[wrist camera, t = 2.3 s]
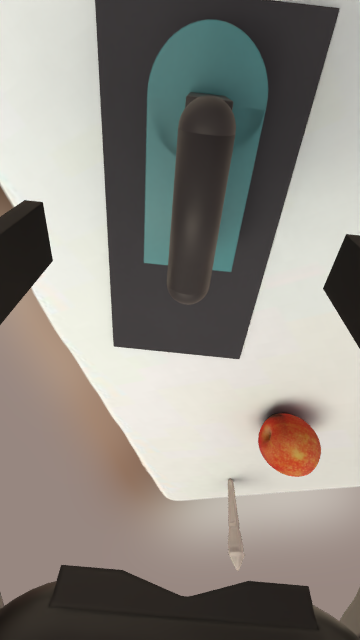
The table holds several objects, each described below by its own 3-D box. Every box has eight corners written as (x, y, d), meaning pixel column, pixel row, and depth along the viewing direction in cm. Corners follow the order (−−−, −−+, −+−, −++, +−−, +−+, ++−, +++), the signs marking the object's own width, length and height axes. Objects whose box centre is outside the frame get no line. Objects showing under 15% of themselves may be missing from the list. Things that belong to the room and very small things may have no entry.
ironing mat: (96, -19, 21) (93, -21, 20) (337, 9, 21) (339, 8, 20) (114, 343, 40) (113, 346, 40) (238, 356, 40) (239, 359, 40)
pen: (234, 475, 59) (241, 567, 48) (239, 481, 60) (248, 572, 49) (221, 478, 60) (226, 569, 48) (227, 484, 61) (234, 574, 50)
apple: (277, 440, 51) (288, 492, 45) (243, 418, 48) (249, 469, 42) (320, 420, 47) (339, 473, 41) (286, 394, 44) (301, 447, 38)
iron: (230, 246, 31) (246, 337, 20) (148, 238, 30) (119, 324, 20) (273, 31, 21) (348, -19, 10) (154, 18, 21) (105, -47, 10)
